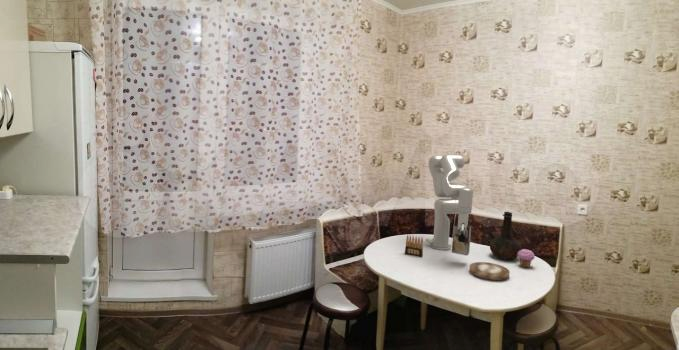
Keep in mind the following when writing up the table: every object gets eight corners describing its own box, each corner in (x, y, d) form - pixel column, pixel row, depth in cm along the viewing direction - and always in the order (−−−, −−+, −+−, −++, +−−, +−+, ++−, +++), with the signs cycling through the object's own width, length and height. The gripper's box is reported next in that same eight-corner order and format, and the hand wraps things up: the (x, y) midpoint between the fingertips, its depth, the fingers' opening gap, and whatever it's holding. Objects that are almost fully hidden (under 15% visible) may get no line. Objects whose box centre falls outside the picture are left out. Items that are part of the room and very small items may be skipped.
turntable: (469, 276, 208) (469, 272, 207) (469, 263, 226) (469, 259, 226) (510, 282, 201) (511, 278, 201) (507, 268, 220) (508, 264, 220)
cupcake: (516, 267, 225) (518, 250, 224) (516, 262, 233) (517, 246, 232) (534, 270, 222) (535, 252, 221) (532, 265, 230) (534, 248, 229)
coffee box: (469, 252, 229) (472, 225, 226) (467, 256, 223) (470, 228, 221) (453, 249, 233) (455, 222, 230) (450, 252, 228) (453, 225, 225)
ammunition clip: (404, 254, 242) (405, 234, 240) (405, 253, 244) (406, 234, 242) (421, 257, 237) (423, 237, 235) (422, 256, 238) (424, 237, 237)
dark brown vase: (517, 254, 248) (522, 210, 244) (522, 264, 231) (527, 217, 227) (487, 251, 253) (491, 207, 249) (490, 260, 236) (494, 214, 232)
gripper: (458, 205, 233) (455, 234, 236) (456, 212, 217) (454, 243, 220) (471, 206, 231) (468, 236, 234) (471, 213, 215) (468, 245, 218)
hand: (461, 239), depth 227 cm, fingers closed on coffee box, 7 cm apart
